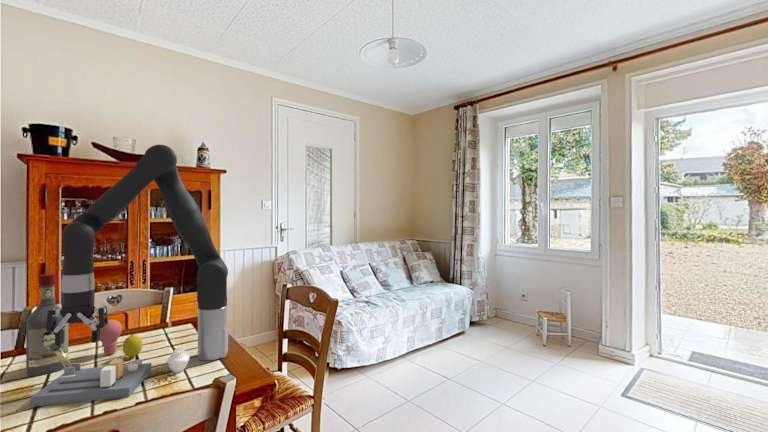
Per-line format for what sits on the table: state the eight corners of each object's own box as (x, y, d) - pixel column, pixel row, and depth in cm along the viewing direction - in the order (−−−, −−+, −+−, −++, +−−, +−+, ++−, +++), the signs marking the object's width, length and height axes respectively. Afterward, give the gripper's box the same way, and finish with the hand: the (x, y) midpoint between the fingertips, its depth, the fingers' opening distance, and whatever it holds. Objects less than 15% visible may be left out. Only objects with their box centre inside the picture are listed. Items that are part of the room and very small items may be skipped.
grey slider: (115, 381, 99) (115, 365, 99) (110, 386, 96) (110, 369, 96) (105, 382, 98) (105, 366, 98) (100, 387, 95) (100, 370, 95)
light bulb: (91, 356, 122) (91, 321, 122) (114, 348, 128) (114, 316, 128) (104, 359, 119) (104, 324, 119) (126, 352, 126) (126, 318, 126)
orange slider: (123, 374, 103) (123, 358, 103) (118, 378, 100) (118, 362, 100) (113, 374, 103) (113, 359, 102) (108, 379, 100) (108, 363, 100)
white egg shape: (168, 368, 114) (168, 346, 114) (190, 364, 116) (190, 343, 116) (165, 376, 108) (165, 353, 108) (188, 372, 111) (188, 350, 111)
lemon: (132, 361, 118) (132, 338, 118) (118, 360, 119) (118, 336, 119) (146, 355, 123) (146, 332, 123) (133, 353, 125) (133, 331, 124)
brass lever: (77, 364, 106) (60, 339, 105) (72, 368, 104) (54, 342, 102) (68, 369, 106) (51, 343, 104) (63, 373, 103) (45, 347, 102)
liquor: (25, 369, 111) (25, 274, 111) (64, 360, 118) (64, 271, 118) (28, 378, 105) (28, 278, 105) (69, 368, 112) (69, 274, 112)
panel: (151, 370, 112) (151, 356, 112) (129, 396, 96) (129, 380, 96) (68, 378, 106) (68, 363, 106) (30, 406, 91) (30, 389, 91)
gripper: (112, 285, 110) (111, 336, 110) (57, 286, 106) (57, 340, 107) (99, 290, 103) (99, 345, 103) (40, 292, 99) (40, 349, 99)
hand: (77, 343), depth 105 cm, fingers open, 8 cm apart
